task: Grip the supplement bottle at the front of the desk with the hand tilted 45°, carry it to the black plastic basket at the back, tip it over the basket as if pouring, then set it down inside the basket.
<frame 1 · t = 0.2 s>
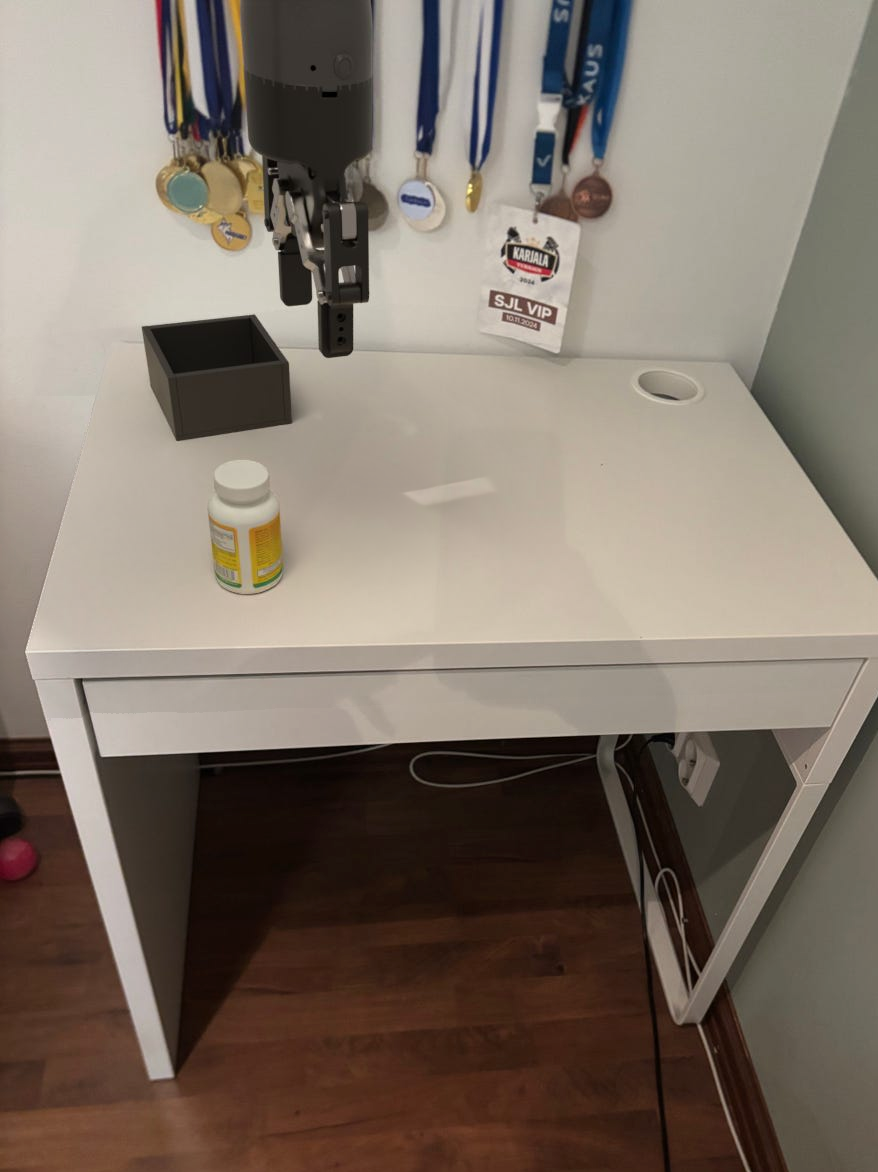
hand: (315, 328, 67), 20 cm above the table, tool pointing down, fingers open, 8 cm apart
supplement bottle: (250, 577, 77), on the table
basket: (220, 404, 97), on the table
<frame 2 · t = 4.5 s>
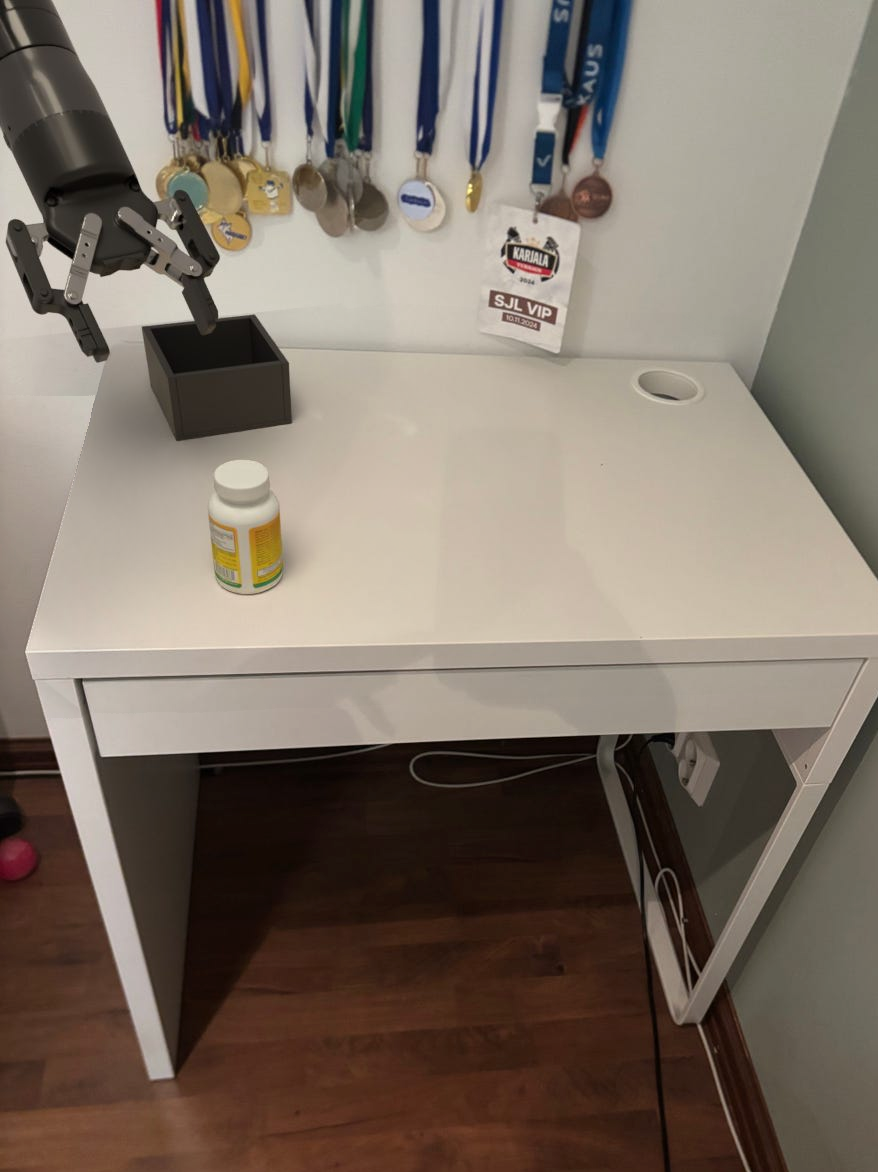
hand: (158, 344, 72), 16 cm above the table, tool tilted 45°, fingers open, 8 cm apart
nothing on the table moved.
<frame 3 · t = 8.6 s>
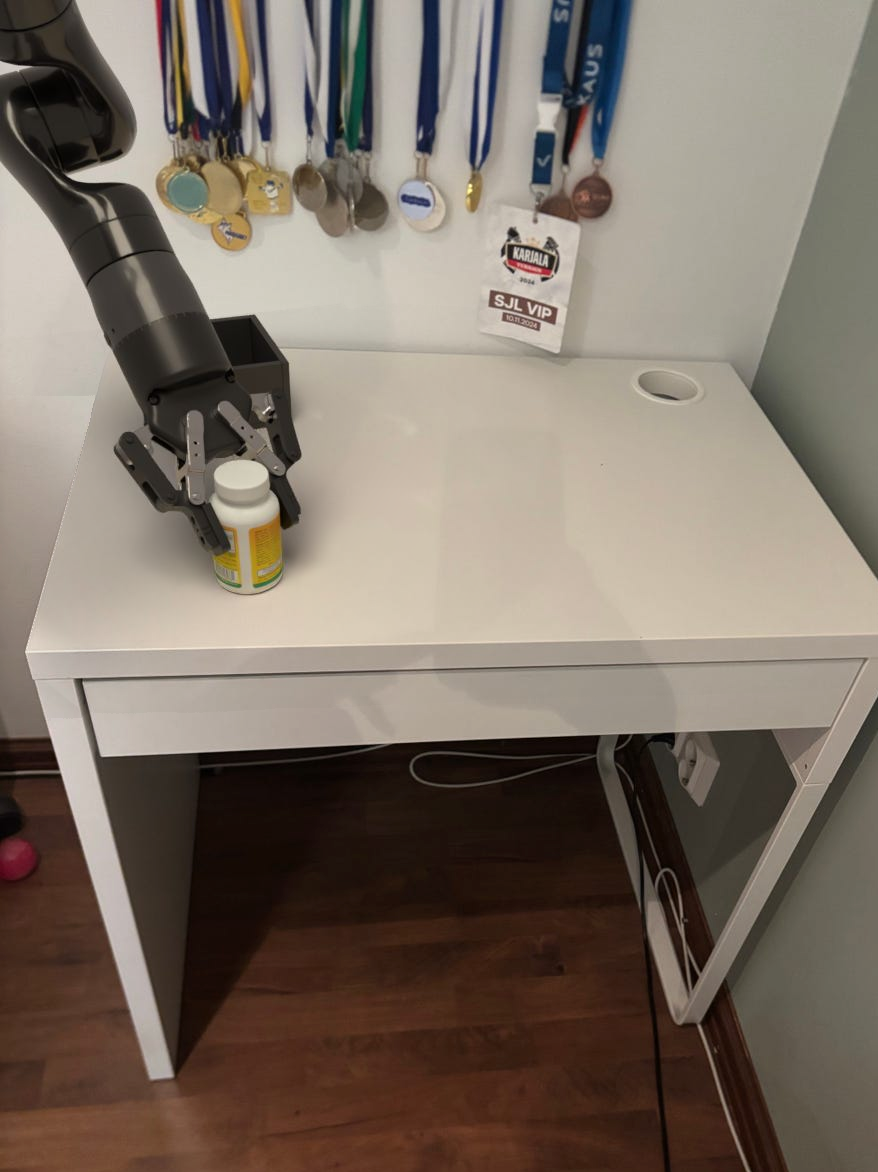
hand: (258, 538, 73), 5 cm above the table, tool tilted 45°, fingers closed on supplement bottle, 5 cm apart
supplement bottle: (250, 577, 77), on the table, touching gripper
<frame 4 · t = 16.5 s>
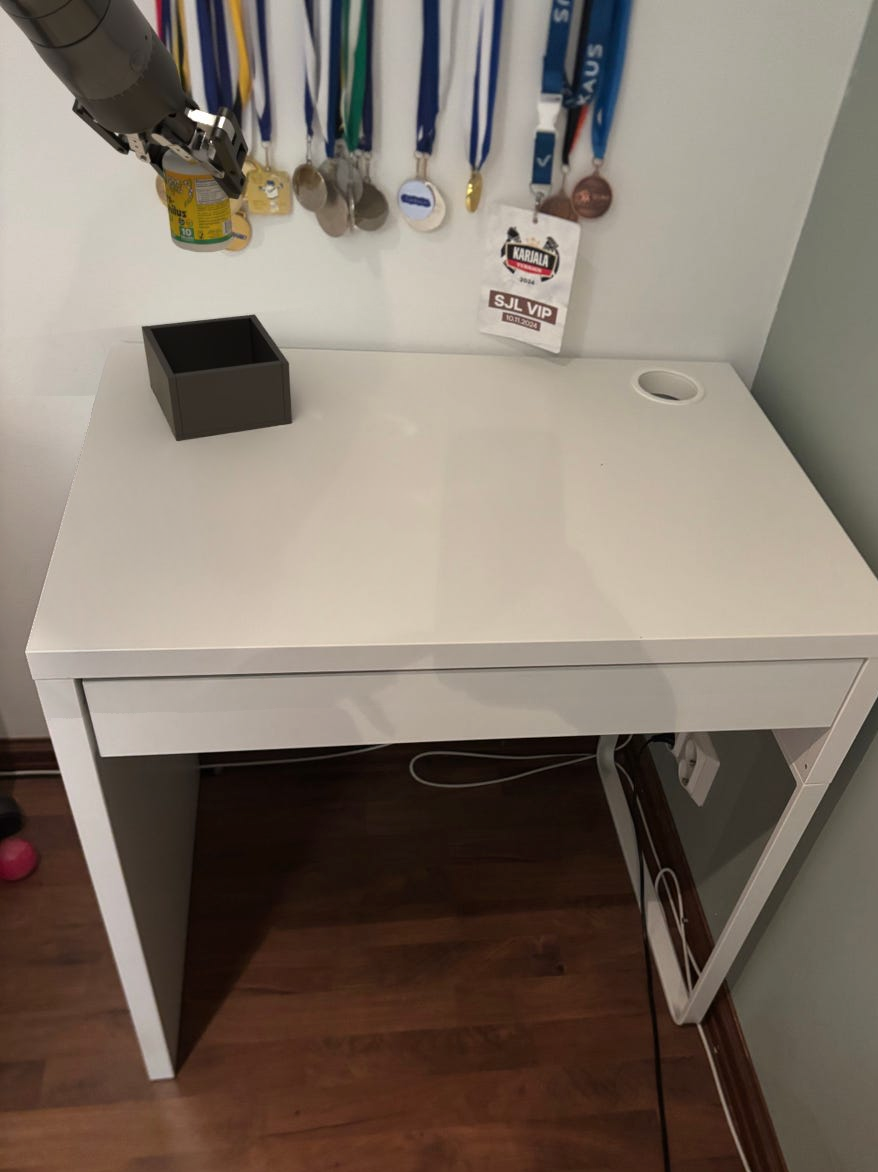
hand: (207, 182, 84), 21 cm above the table, tool tilted 45°, fingers closed on supplement bottle, 5 cm apart
supplement bottle: (202, 245, 86), point 16 cm above the table, touching gripper
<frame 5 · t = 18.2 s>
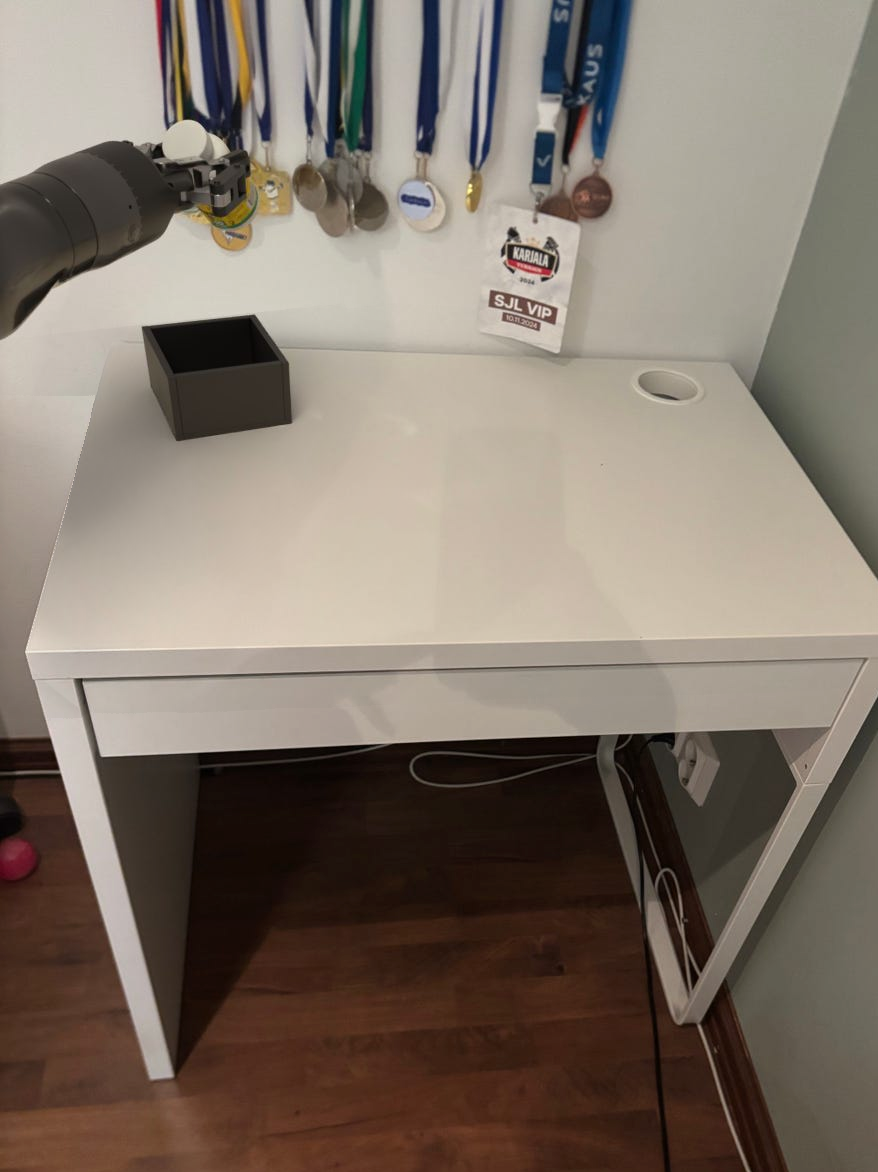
hand: (213, 156, 84), 23 cm above the table, tool horizontal, fingers closed on supplement bottle, 5 cm apart
supplement bottle: (234, 207, 89), point 18 cm above the table, touching gripper
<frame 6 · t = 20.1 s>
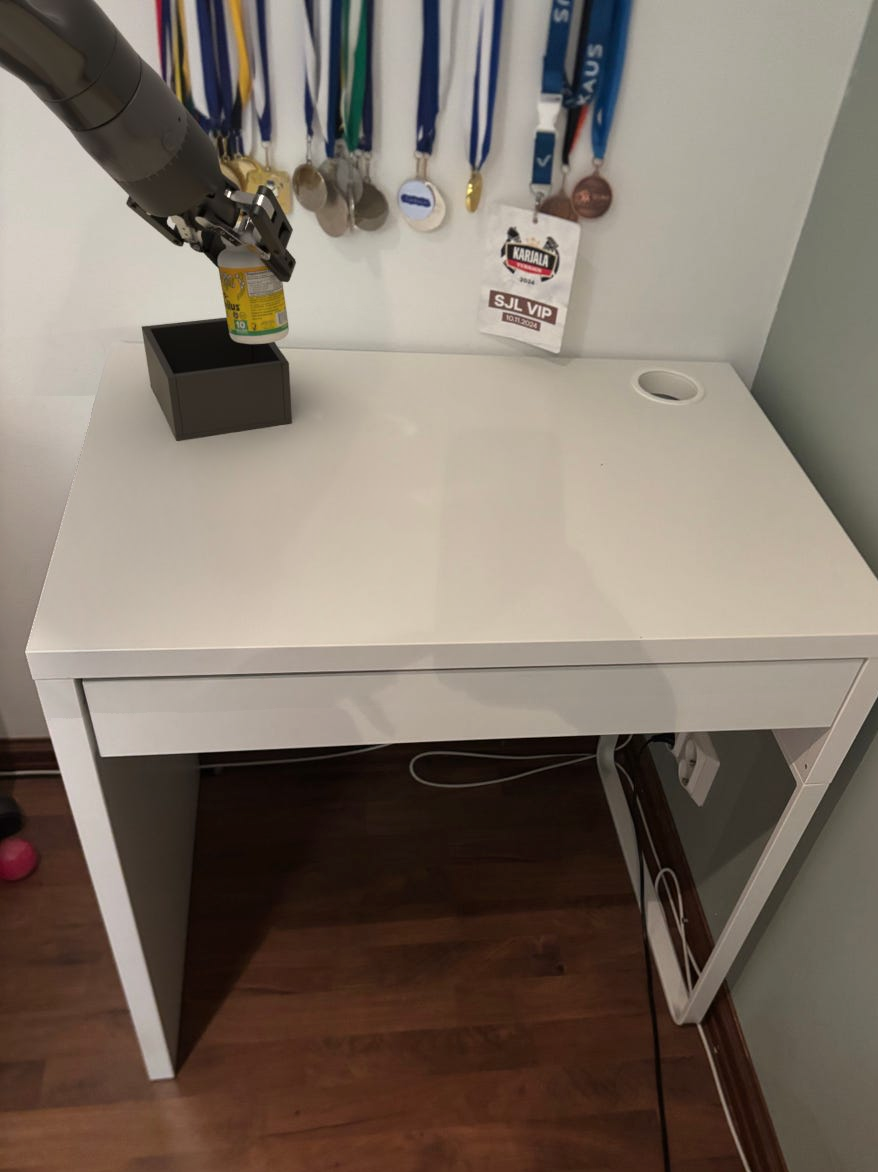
hand: (260, 269, 85), 15 cm above the table, tool tilted 40°, fingers closed on supplement bottle, 5 cm apart
supplement bottle: (260, 339, 87), point 10 cm above the table, touching gripper
when the fingers open (6 cm above the table, at t = 24.3 s): supplement bottle stays where it is, resting on basket.
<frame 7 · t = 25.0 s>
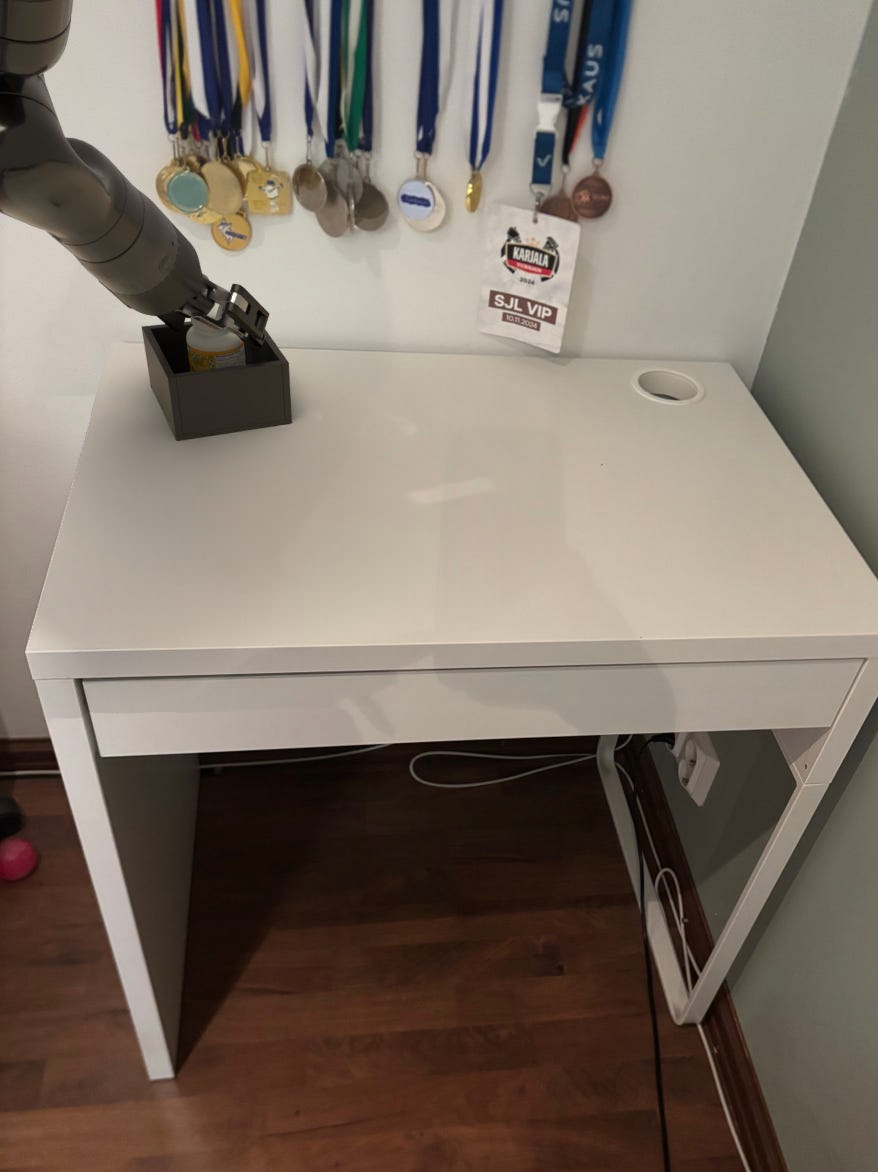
hand: (219, 331, 93), 7 cm above the table, tool tilted 45°, fingers open, 8 cm apart
supplement bottle: (221, 402, 97), resting on basket
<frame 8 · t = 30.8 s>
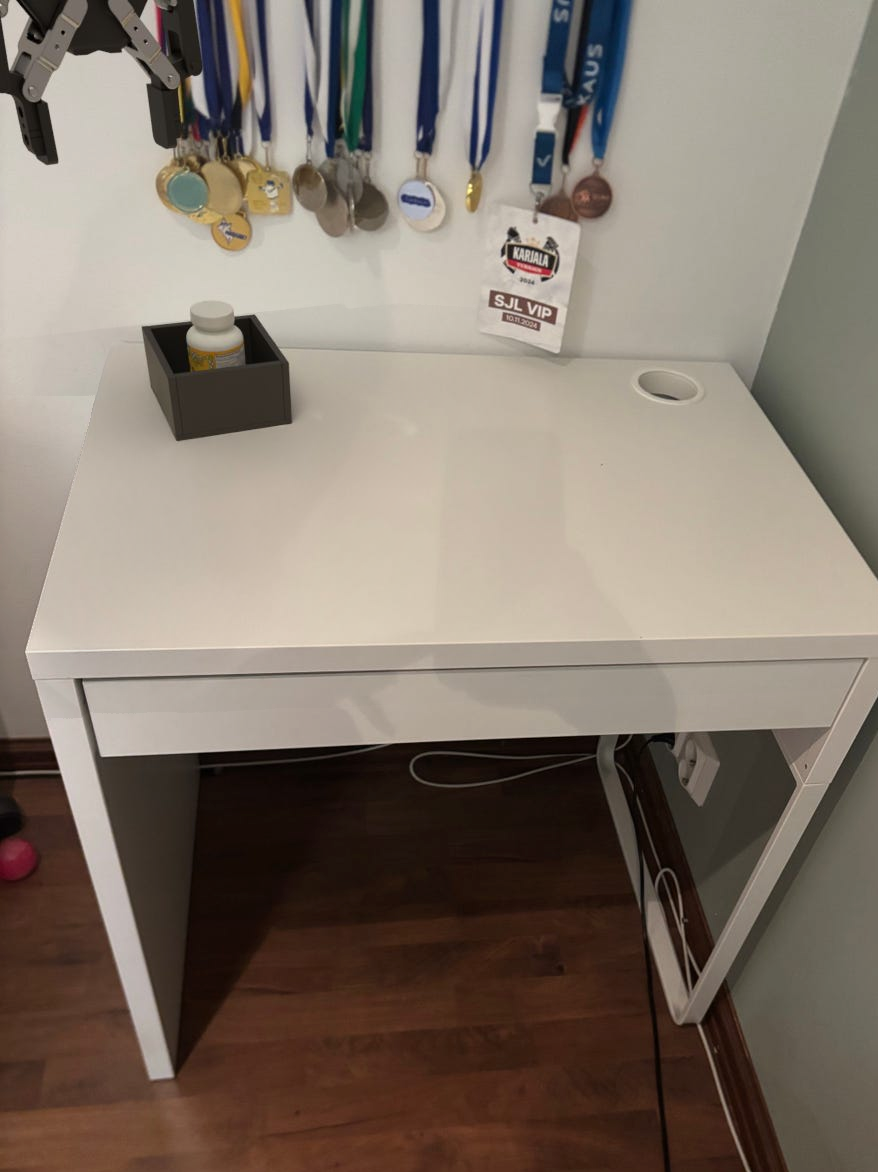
hand: (108, 153, 65), 28 cm above the table, tool pointing down, fingers open, 8 cm apart
nothing on the table moved.
at the end: supplement bottle inside the target area in the basket (0.2 cm from its centre), point 0.3 cm above the basket's base; the gripper is holding nothing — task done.
